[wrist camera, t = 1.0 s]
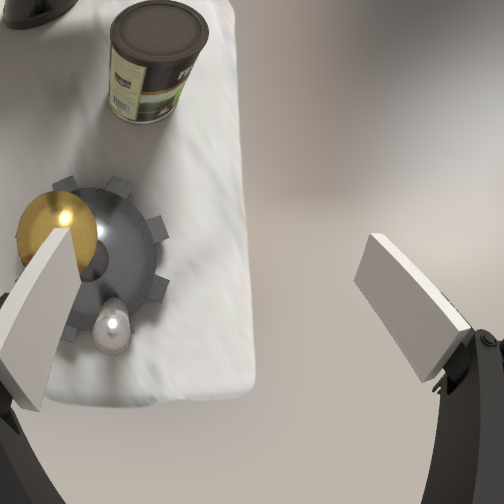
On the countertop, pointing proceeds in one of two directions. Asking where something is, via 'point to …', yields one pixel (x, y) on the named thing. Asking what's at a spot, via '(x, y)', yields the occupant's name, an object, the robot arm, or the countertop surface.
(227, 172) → the countertop surface
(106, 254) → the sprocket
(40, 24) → the robot arm
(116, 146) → the countertop surface
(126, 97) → the coffee can
